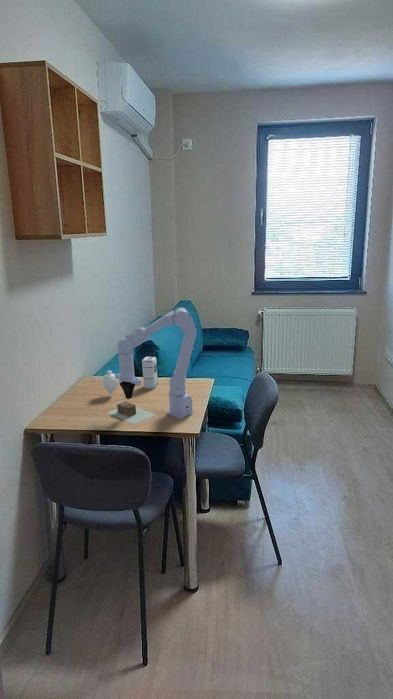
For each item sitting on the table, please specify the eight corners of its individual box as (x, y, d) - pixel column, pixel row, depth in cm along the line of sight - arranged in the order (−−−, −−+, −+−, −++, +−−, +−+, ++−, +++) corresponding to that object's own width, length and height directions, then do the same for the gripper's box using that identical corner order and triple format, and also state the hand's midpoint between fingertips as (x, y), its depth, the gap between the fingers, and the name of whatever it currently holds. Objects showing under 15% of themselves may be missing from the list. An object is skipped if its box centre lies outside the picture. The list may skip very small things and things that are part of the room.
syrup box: (155, 388, 220) (153, 360, 217) (143, 388, 222) (141, 359, 218) (158, 384, 226) (156, 356, 222) (147, 384, 227) (145, 356, 223)
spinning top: (102, 393, 216) (100, 369, 212) (118, 391, 218) (116, 367, 215) (104, 399, 209) (102, 374, 205) (121, 397, 211) (119, 372, 208)
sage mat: (156, 415, 189) (156, 414, 189) (133, 425, 181) (133, 424, 181) (129, 405, 201) (129, 404, 201) (107, 413, 193) (106, 412, 193)
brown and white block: (135, 405, 189) (123, 400, 194) (127, 408, 186) (116, 403, 192) (136, 414, 190) (124, 409, 196) (128, 417, 187) (116, 412, 193)
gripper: (108, 365, 186) (110, 396, 190) (130, 372, 177) (132, 405, 180) (121, 361, 191) (124, 392, 195) (144, 368, 181) (146, 400, 185)
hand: (129, 398), depth 188 cm, fingers closed
